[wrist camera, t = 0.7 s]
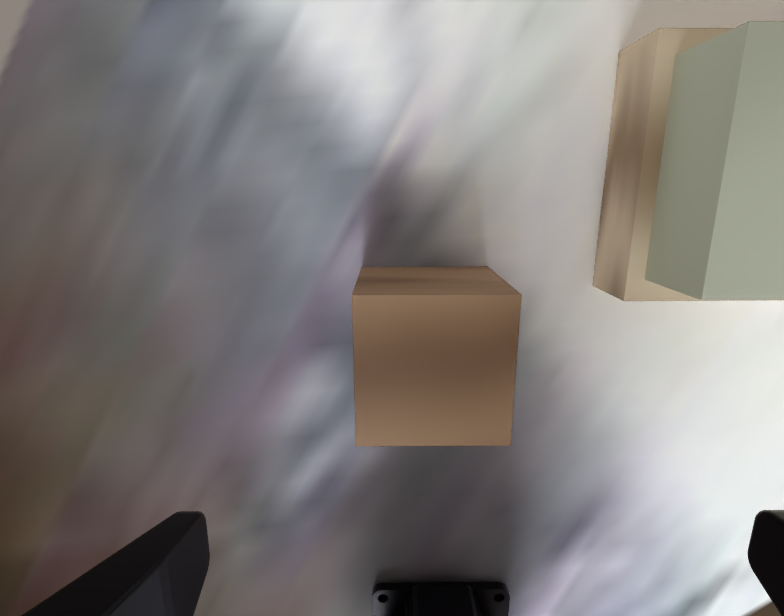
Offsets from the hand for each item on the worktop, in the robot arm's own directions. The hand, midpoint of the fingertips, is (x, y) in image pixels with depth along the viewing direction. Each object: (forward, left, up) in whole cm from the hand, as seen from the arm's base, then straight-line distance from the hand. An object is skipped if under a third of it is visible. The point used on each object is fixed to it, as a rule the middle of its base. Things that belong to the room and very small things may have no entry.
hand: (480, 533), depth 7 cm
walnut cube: (0, 0, -12) cm, 12 cm away
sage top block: (+6, -11, -9) cm, 15 cm away
